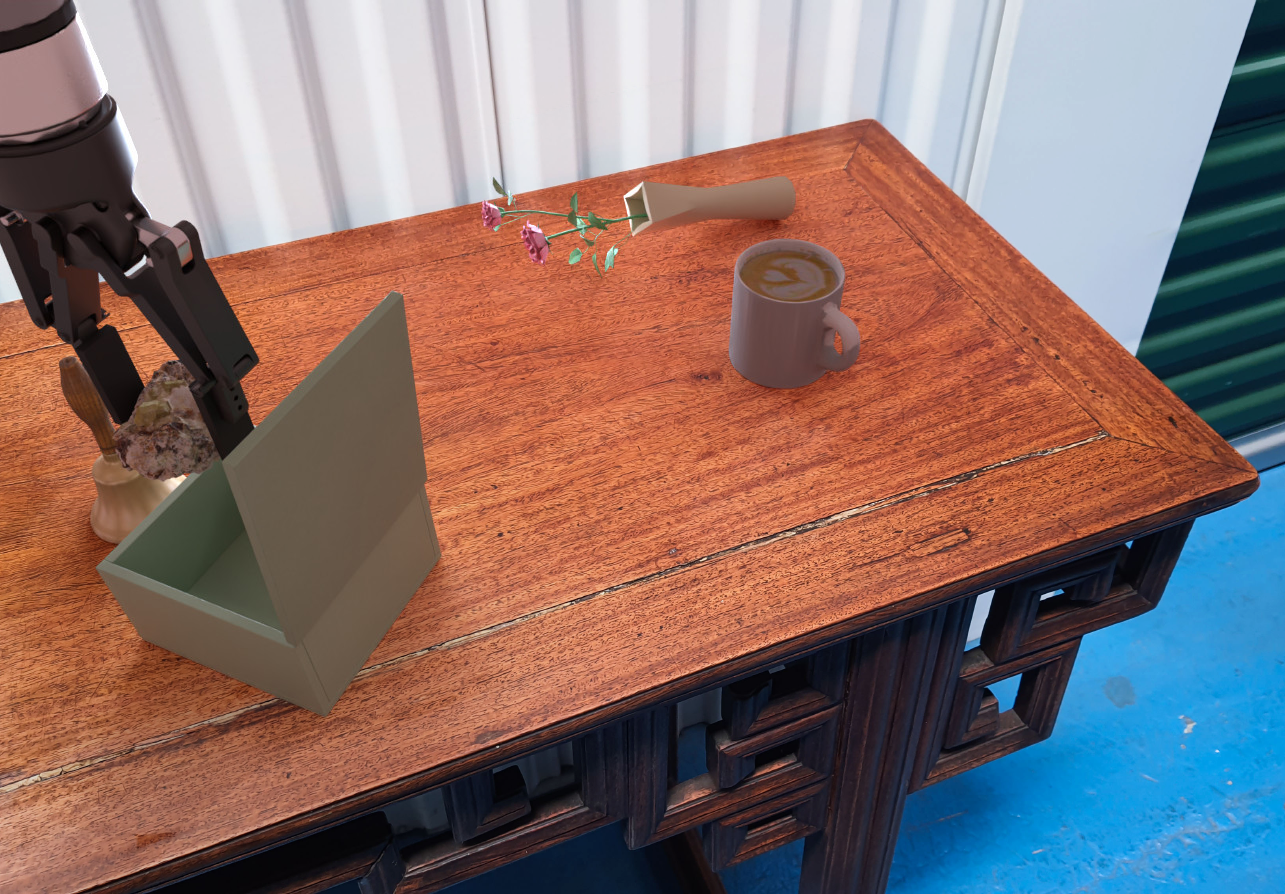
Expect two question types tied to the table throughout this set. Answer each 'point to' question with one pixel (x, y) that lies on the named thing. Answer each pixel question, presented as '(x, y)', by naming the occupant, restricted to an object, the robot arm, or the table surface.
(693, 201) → the flower vase
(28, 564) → the table surface
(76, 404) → the hand bell
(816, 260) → the coffee mug
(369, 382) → the chest lid
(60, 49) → the robot arm
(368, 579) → the chest
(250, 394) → the table surface
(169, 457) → the mineral rock
